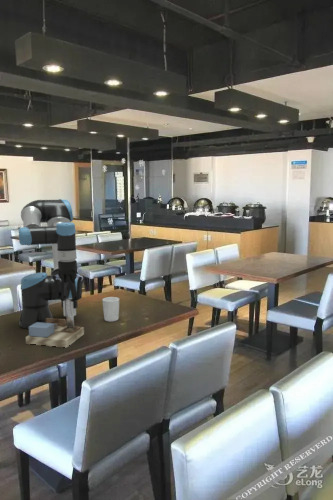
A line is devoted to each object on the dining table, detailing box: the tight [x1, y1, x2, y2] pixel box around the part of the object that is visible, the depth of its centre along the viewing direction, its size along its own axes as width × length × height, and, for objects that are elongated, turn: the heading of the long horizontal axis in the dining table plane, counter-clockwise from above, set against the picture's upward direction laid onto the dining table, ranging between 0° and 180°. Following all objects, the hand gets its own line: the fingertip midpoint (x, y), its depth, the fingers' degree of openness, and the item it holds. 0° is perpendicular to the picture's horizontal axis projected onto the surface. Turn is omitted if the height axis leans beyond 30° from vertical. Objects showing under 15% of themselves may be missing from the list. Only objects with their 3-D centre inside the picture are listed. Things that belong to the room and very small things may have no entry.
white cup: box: [102, 296, 120, 322], centre depth 195 cm, size 8×8×10 cm
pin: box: [65, 298, 75, 328], centre depth 171 cm, size 3×3×12 cm
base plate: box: [25, 317, 85, 349], centre depth 171 cm, size 18×16×6 cm
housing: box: [28, 322, 54, 337], centre depth 167 cm, size 8×6×4 cm
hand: (69, 315), depth 172 cm, fingers closed on pin, 3 cm apart
